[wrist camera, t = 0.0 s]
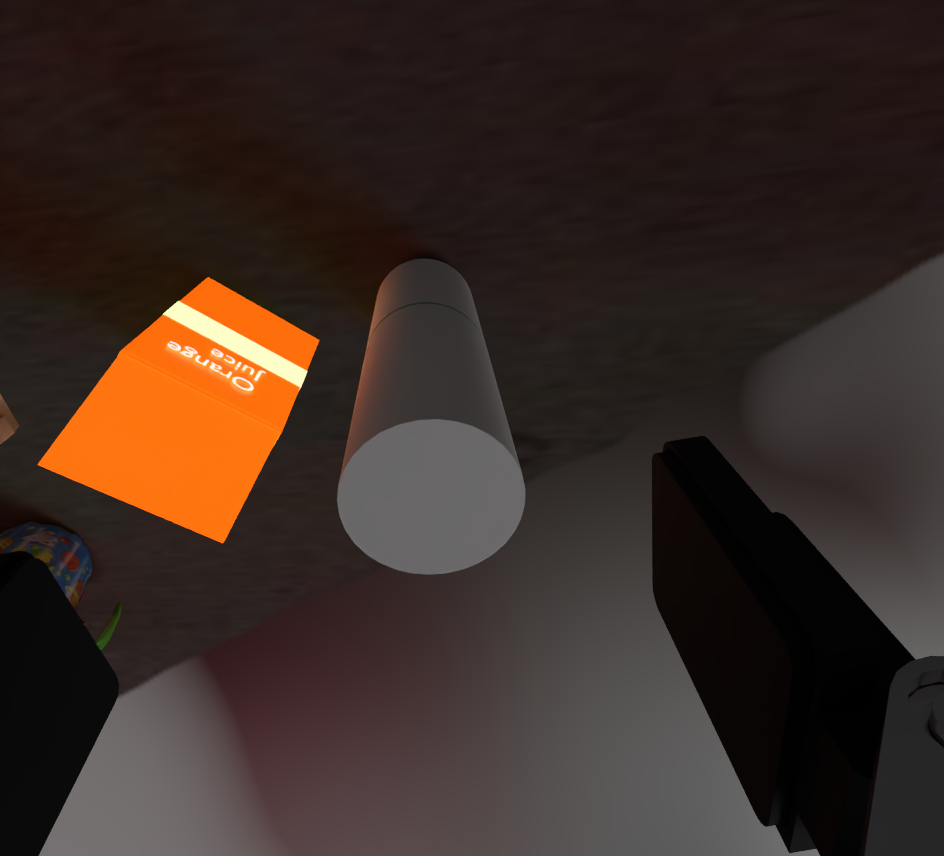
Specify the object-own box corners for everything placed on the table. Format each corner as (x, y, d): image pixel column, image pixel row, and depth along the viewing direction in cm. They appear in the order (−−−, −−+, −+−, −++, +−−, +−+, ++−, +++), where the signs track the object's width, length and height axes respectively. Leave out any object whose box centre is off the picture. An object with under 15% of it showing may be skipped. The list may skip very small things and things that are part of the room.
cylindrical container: (367, 340, 46) (323, 559, 24) (387, 247, 43) (356, 400, 21) (459, 361, 47) (495, 586, 25) (484, 272, 44) (550, 440, 22)
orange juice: (207, 274, 43) (62, 395, 25) (321, 339, 46) (261, 487, 28) (164, 362, 46) (7, 525, 28) (274, 417, 48) (193, 598, 31)
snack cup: (-68, 556, 52) (-169, 650, 43) (-31, 468, 48) (-131, 551, 40) (115, 625, 57) (60, 722, 48) (162, 550, 54) (111, 640, 45)
